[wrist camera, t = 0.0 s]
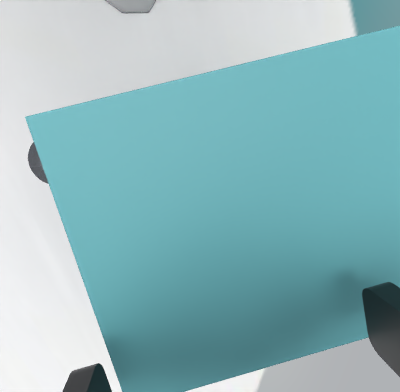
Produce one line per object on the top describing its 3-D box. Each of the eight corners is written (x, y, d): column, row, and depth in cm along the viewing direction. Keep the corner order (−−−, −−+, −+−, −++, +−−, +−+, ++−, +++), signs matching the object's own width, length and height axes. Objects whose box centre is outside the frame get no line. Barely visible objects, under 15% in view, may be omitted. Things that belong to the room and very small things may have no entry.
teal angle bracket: (135, 134, 36) (24, 116, 8) (257, 103, 37) (518, -4, 9) (158, 213, 38) (128, 408, 10) (273, 183, 39) (526, 290, 11)
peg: (86, 140, 35) (20, 140, 20) (115, 133, 36) (72, 128, 20) (95, 168, 36) (38, 190, 20) (123, 161, 36) (88, 177, 21)
